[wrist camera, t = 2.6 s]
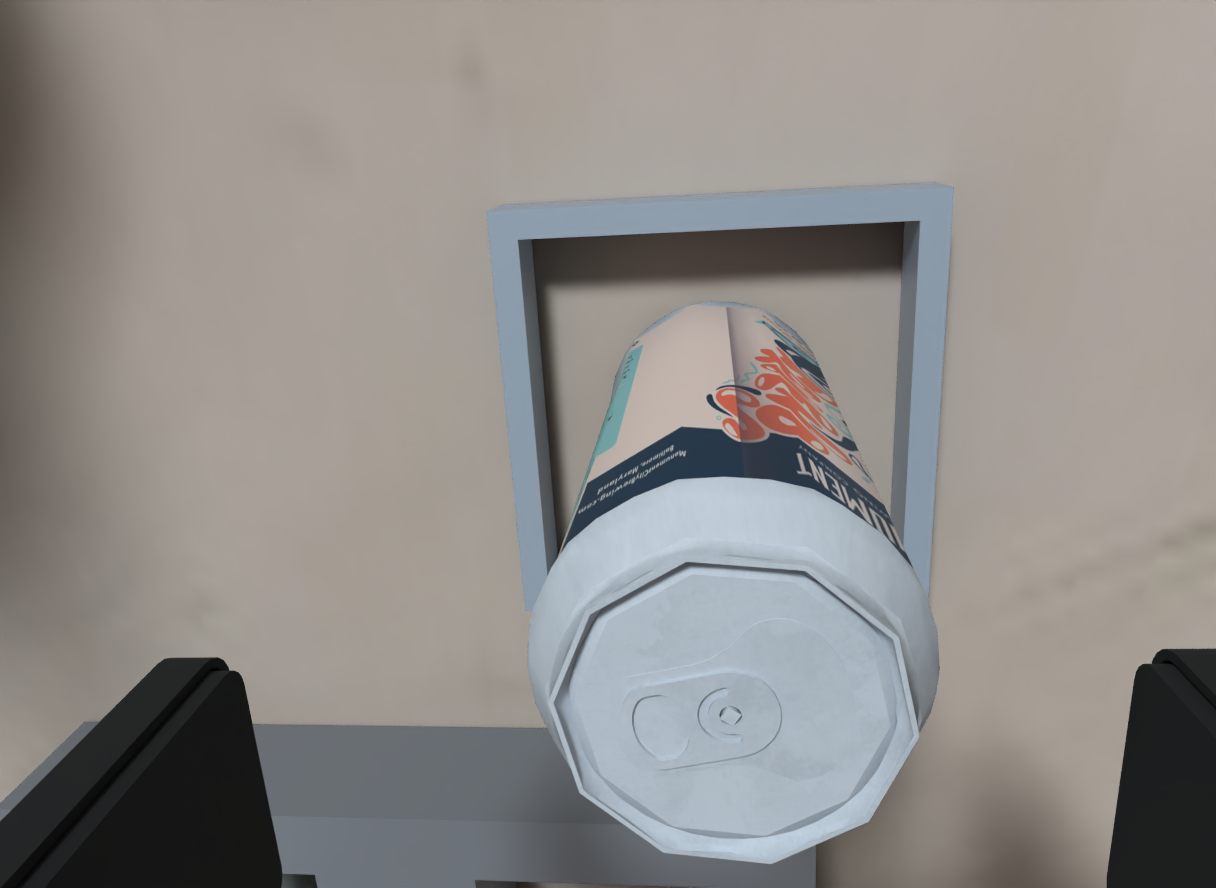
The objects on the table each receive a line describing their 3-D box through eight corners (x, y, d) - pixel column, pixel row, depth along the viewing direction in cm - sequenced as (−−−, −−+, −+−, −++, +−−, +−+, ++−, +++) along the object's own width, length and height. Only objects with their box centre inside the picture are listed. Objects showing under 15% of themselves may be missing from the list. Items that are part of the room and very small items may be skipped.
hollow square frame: (935, 182, 19) (954, 187, 18) (913, 579, 22) (927, 610, 21) (501, 204, 20) (486, 211, 19) (536, 581, 23) (525, 610, 22)
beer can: (842, 472, 21) (994, 863, 10) (643, 516, 22) (582, 920, 11) (797, 271, 20) (919, 466, 9) (589, 326, 21) (451, 567, 10)
